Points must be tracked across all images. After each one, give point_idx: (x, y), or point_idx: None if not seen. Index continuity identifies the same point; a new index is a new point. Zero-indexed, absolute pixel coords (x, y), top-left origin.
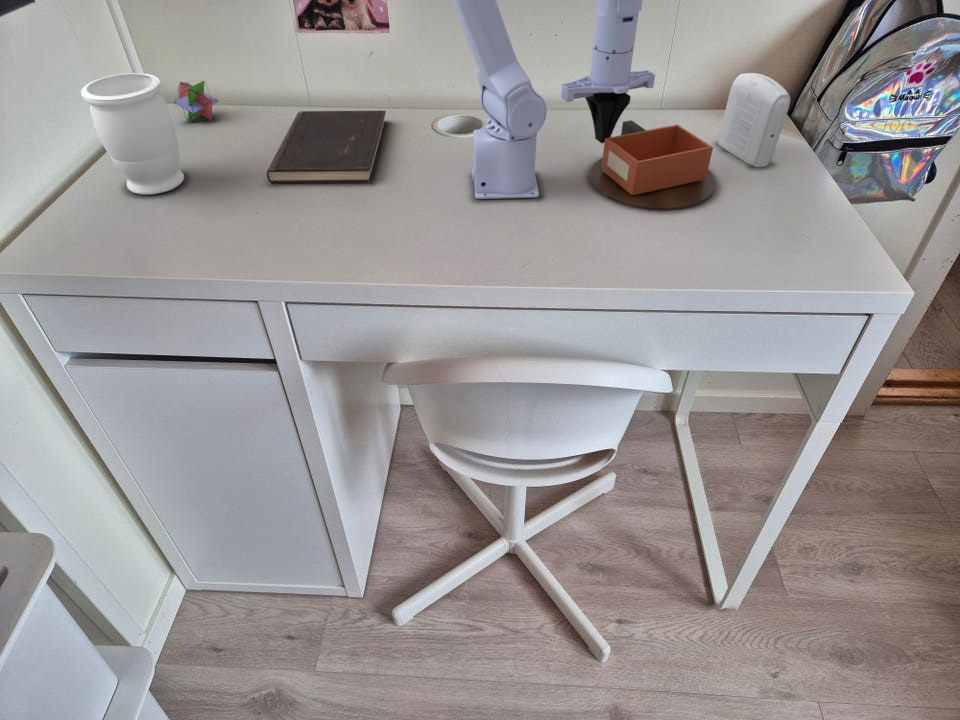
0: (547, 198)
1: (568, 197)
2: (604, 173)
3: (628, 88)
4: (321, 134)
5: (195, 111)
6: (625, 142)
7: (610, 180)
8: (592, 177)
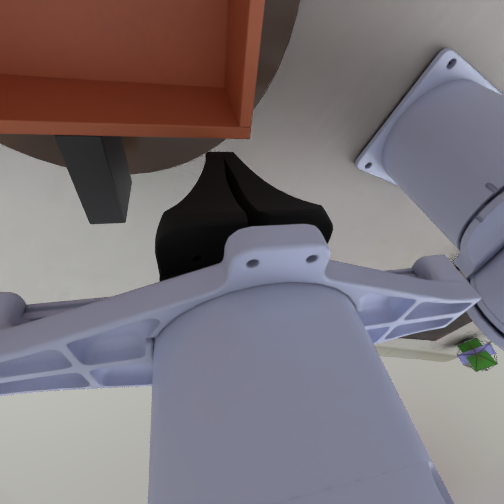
0: (428, 33)
1: (388, 3)
2: None
3: (235, 249)
4: None
5: (485, 345)
6: (163, 112)
7: None
8: (273, 70)
